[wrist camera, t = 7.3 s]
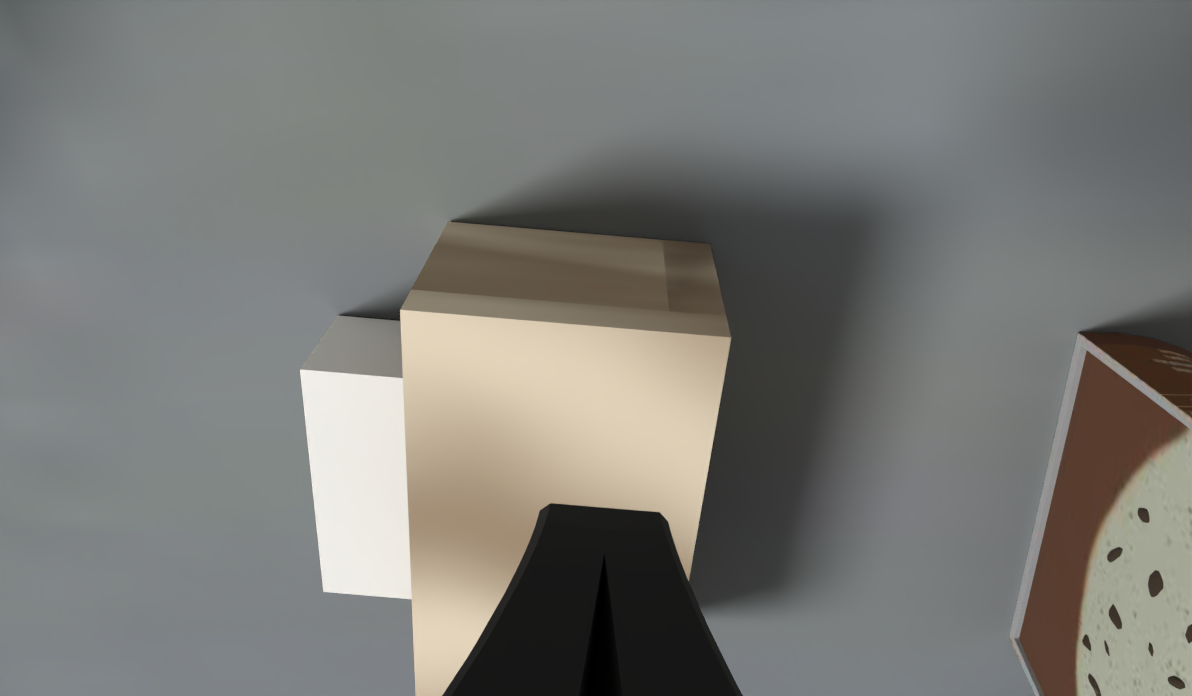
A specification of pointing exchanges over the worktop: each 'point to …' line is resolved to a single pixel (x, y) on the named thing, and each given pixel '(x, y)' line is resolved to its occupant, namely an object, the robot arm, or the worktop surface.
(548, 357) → the overhang shelf
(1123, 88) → the worktop surface
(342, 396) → the cover
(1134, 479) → the food container
